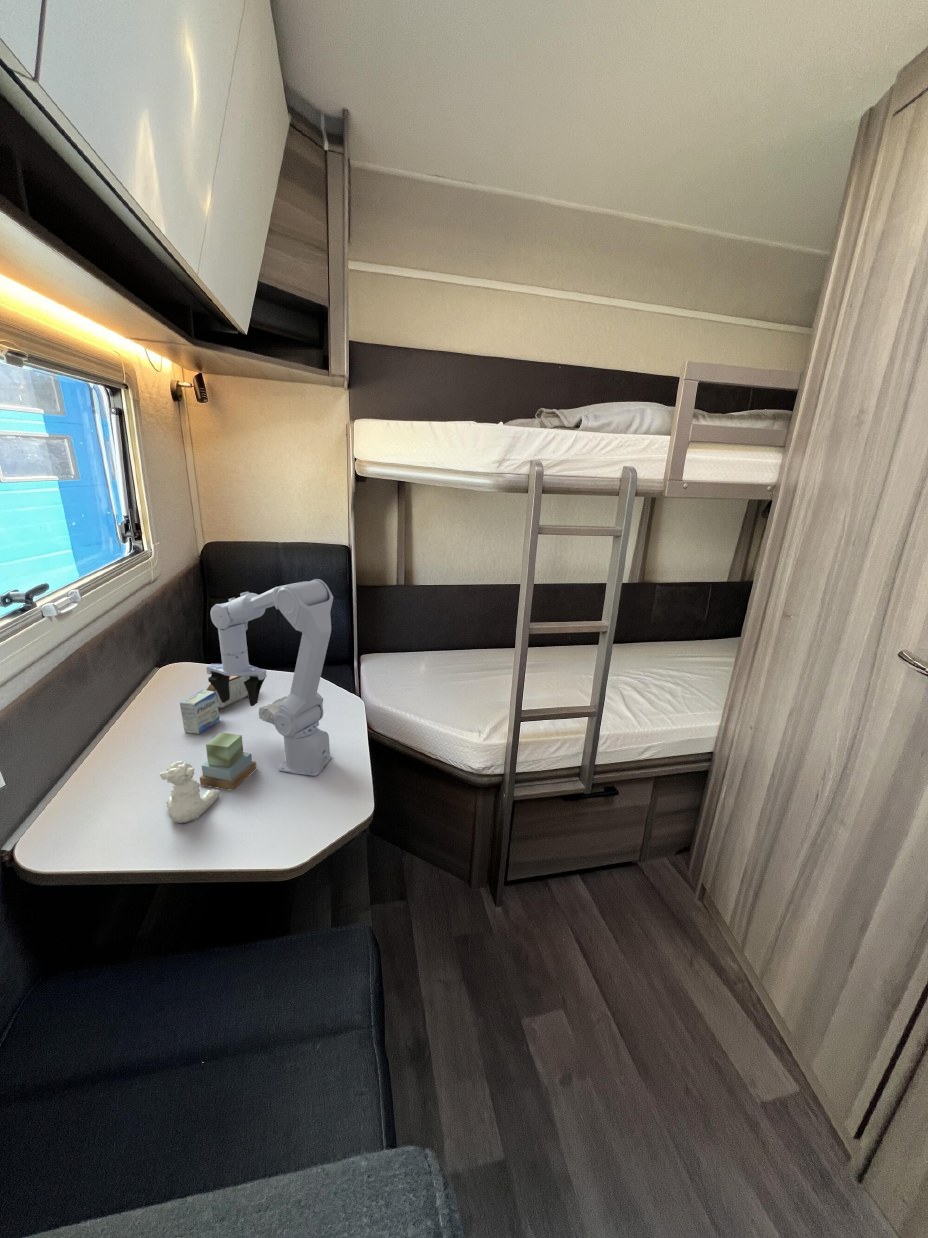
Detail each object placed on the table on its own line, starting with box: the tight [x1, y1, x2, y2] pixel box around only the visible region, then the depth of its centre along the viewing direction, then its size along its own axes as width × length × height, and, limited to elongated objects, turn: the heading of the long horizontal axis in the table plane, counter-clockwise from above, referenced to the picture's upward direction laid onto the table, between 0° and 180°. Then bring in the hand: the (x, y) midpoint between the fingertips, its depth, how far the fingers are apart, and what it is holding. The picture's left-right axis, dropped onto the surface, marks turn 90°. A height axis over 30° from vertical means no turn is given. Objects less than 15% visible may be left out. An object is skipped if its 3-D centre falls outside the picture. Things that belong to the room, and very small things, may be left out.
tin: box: [206, 676, 250, 710], centre depth 136 cm, size 15×3×8 cm, turn 154°
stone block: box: [258, 695, 288, 725], centre depth 131 cm, size 12×5×10 cm
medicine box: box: [179, 689, 220, 735], centre depth 122 cm, size 8×4×9 cm, turn 168°
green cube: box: [205, 732, 244, 768], centre depth 101 cm, size 5×5×5 cm
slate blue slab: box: [201, 751, 253, 781], centre depth 102 cm, size 7×7×2 cm
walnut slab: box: [199, 760, 257, 791], centre depth 103 cm, size 8×8×2 cm
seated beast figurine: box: [159, 760, 221, 824], centre depth 90 cm, size 10×9×12 cm
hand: (239, 702), depth 115 cm, fingers open, 7 cm apart
